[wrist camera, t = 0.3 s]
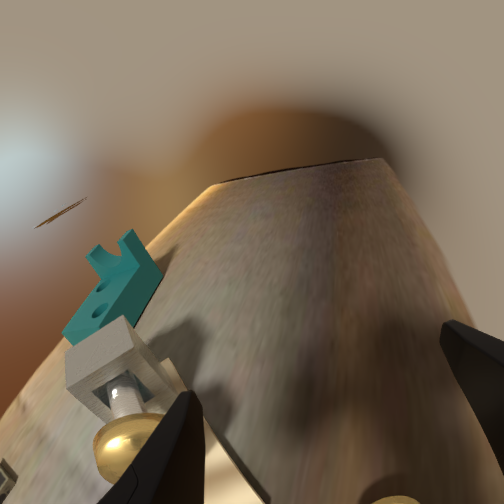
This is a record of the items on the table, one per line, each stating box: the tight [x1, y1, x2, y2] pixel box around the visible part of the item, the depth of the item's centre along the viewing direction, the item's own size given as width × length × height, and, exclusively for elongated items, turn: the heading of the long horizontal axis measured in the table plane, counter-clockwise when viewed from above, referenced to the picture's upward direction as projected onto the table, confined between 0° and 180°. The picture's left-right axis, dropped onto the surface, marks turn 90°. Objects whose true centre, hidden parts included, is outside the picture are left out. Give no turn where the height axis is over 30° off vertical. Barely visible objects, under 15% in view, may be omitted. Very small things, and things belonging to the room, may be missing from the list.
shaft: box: [93, 369, 164, 484], centre depth 24 cm, size 17×8×8 cm, turn 32°
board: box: [160, 358, 265, 504], centre depth 24 cm, size 22×10×1 cm, turn 32°
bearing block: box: [65, 315, 179, 424], centre depth 27 cm, size 6×8×9 cm
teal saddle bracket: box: [62, 229, 163, 346], centre depth 46 cm, size 18×11×10 cm, turn 170°
